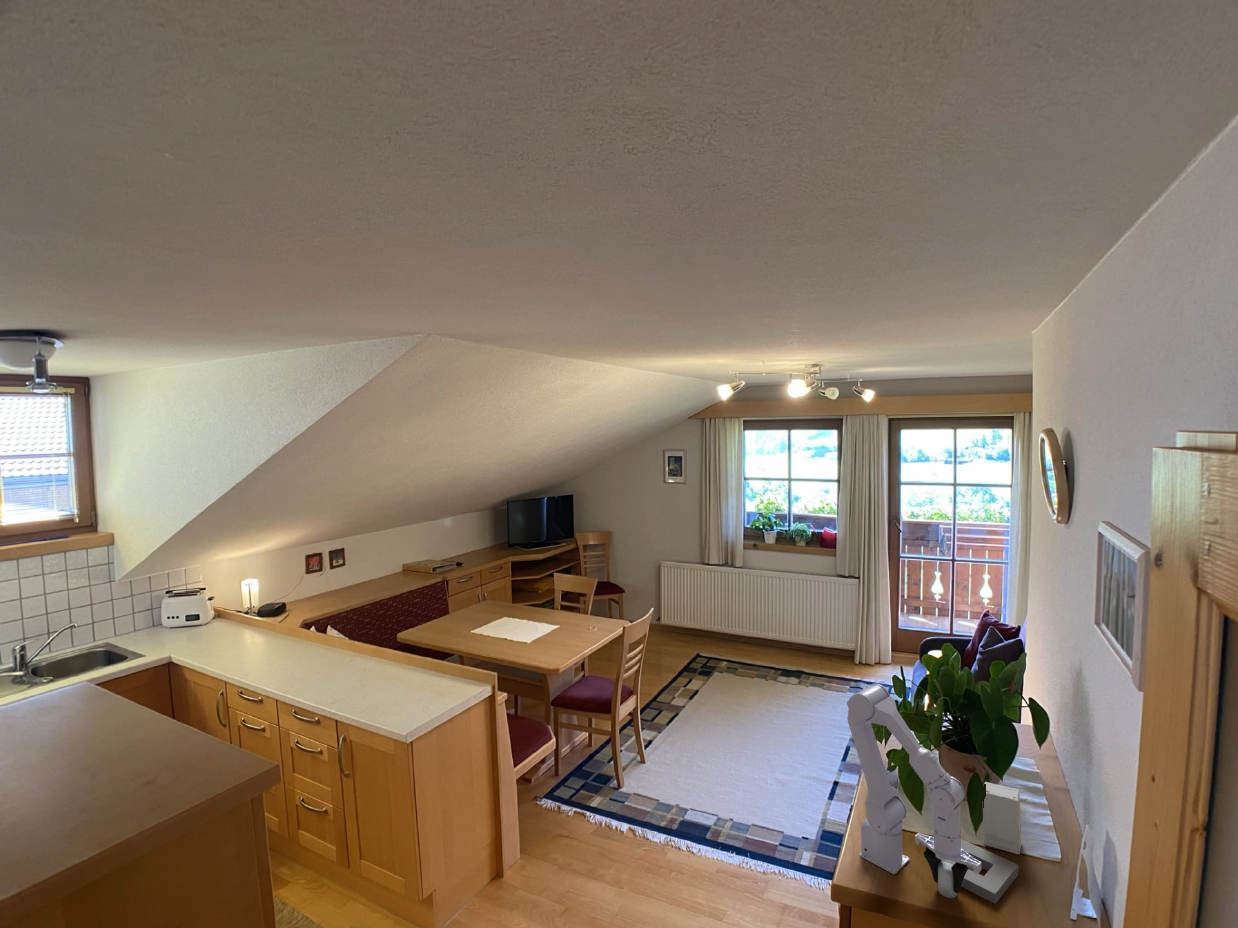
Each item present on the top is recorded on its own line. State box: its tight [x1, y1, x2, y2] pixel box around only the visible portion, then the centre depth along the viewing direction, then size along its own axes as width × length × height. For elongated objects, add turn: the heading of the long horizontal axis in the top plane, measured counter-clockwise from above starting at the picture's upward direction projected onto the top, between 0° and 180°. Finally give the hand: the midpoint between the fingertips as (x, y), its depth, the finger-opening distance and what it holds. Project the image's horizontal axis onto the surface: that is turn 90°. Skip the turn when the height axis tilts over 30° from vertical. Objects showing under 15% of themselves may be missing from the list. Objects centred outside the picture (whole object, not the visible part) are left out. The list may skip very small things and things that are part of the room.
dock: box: [941, 838, 1019, 905], centre depth 160 cm, size 14×14×2 cm
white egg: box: [937, 862, 958, 899], centre depth 154 cm, size 4×4×6 cm
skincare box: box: [982, 781, 1022, 855], centre depth 169 cm, size 8×6×15 cm
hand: (947, 885), depth 154 cm, fingers closed on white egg, 4 cm apart
